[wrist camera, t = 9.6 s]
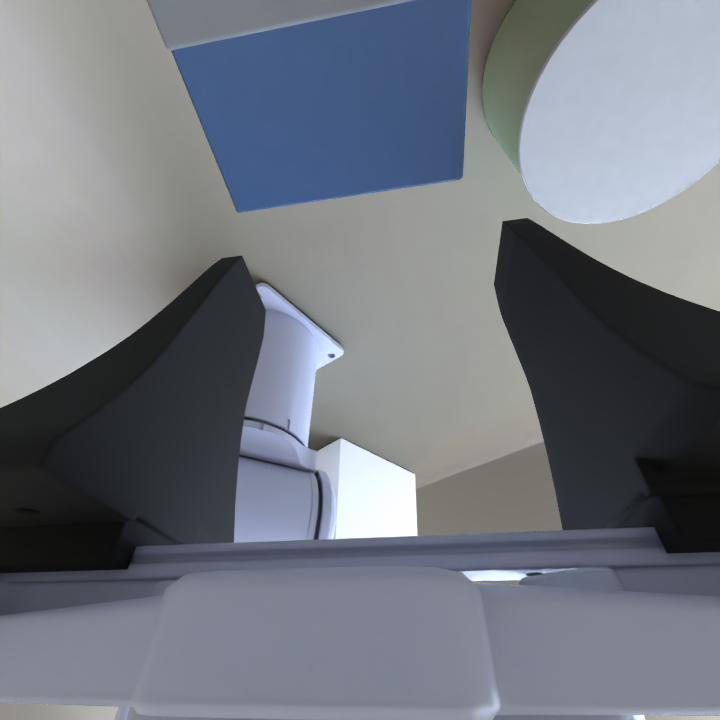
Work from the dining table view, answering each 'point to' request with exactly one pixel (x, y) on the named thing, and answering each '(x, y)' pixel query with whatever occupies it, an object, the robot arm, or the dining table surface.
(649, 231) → the dining table surface
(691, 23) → the green yogurt
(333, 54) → the block
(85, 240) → the dining table surface
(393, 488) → the milk
